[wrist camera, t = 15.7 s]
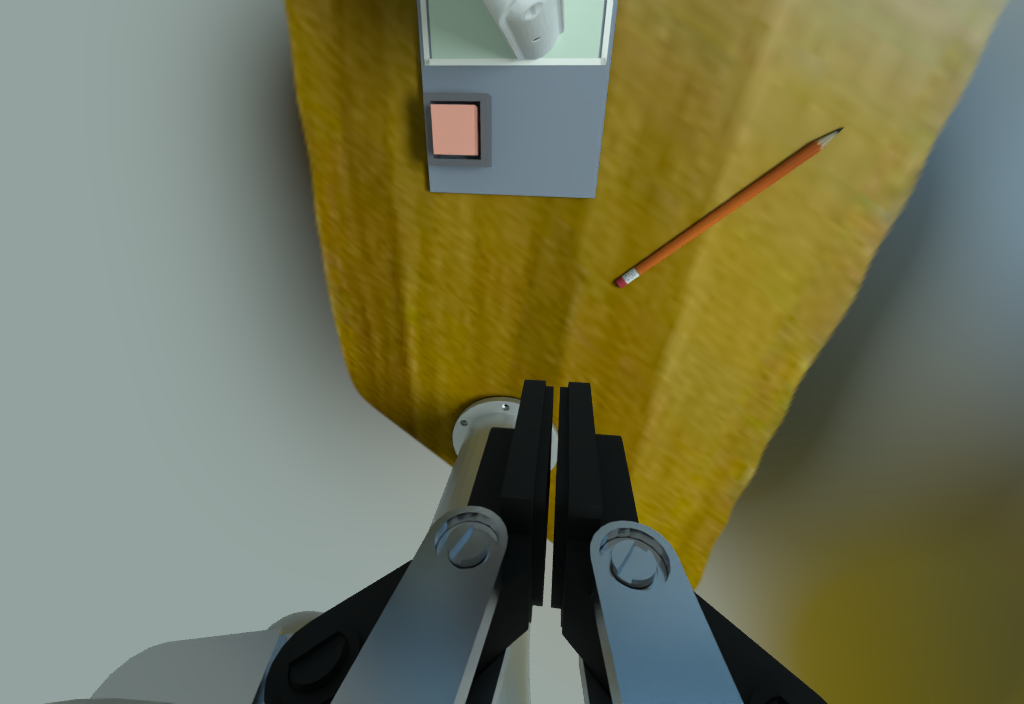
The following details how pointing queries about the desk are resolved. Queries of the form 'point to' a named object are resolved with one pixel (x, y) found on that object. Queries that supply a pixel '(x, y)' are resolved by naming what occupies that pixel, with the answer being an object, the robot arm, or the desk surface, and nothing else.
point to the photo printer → (528, 25)
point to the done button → (456, 129)
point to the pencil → (728, 207)
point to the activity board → (518, 99)
